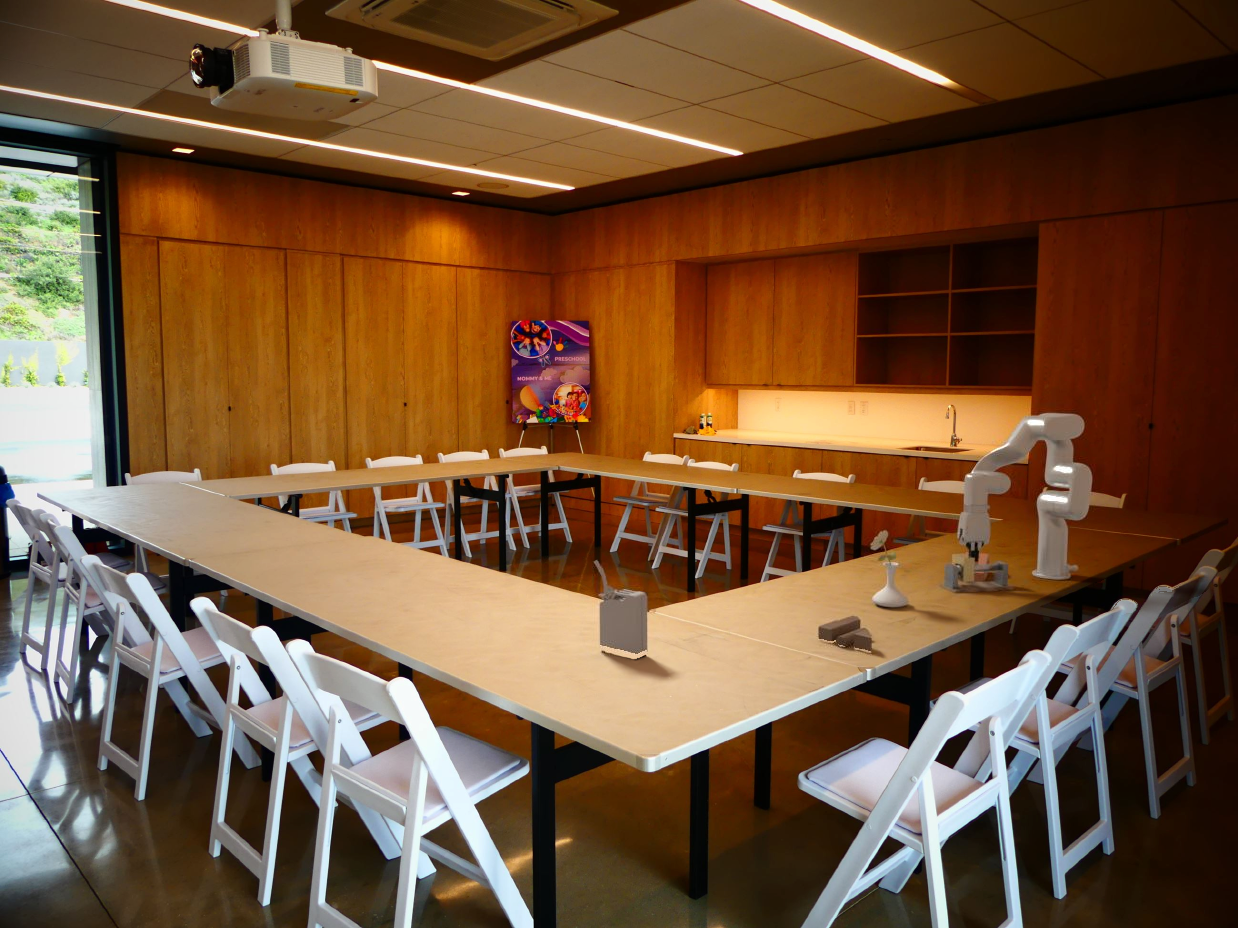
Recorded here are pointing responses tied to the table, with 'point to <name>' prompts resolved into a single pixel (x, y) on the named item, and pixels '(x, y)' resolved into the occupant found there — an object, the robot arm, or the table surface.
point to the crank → (982, 560)
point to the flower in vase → (888, 578)
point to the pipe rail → (997, 567)
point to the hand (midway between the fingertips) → (973, 561)
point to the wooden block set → (846, 633)
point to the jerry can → (623, 618)
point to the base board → (977, 587)
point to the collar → (964, 566)
